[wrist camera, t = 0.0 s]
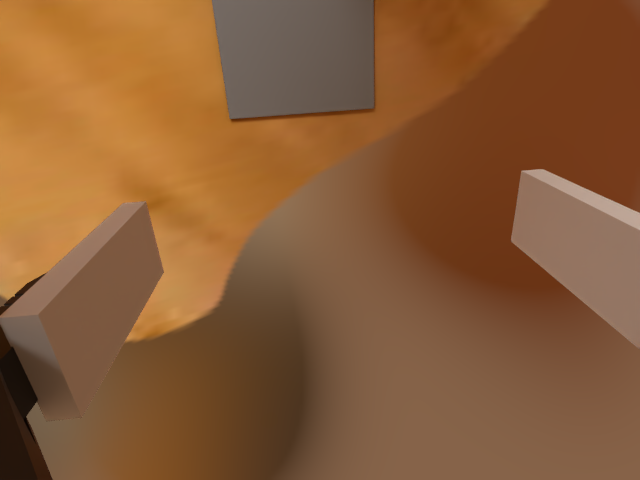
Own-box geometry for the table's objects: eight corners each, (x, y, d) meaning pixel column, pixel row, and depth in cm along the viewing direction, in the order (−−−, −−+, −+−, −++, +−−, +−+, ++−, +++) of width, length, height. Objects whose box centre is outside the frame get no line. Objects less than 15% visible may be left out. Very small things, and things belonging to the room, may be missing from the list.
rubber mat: (204, -57, 34) (203, -58, 33) (372, -67, 34) (373, -68, 34) (230, 118, 39) (229, 119, 39) (373, 107, 40) (374, 108, 40)
